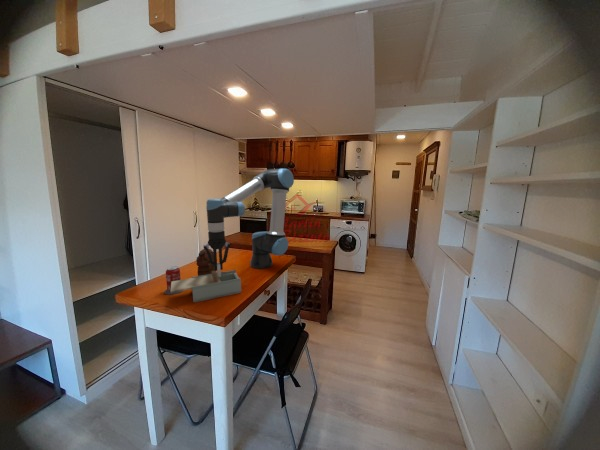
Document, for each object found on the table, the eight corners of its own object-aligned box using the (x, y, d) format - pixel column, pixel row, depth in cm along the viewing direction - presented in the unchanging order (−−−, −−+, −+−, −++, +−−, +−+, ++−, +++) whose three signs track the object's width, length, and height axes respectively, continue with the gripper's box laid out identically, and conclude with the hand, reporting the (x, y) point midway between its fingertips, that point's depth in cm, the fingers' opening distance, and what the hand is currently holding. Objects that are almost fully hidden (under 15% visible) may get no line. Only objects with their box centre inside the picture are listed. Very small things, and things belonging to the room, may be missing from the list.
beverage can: (171, 287, 117) (169, 265, 115) (183, 287, 118) (181, 265, 115) (165, 293, 111) (162, 270, 109) (178, 292, 111) (176, 269, 109)
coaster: (184, 285, 120) (184, 284, 120) (184, 292, 112) (184, 291, 112) (165, 288, 116) (164, 288, 116) (163, 296, 108) (163, 295, 108)
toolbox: (235, 282, 124) (235, 269, 123) (241, 292, 113) (240, 278, 112) (192, 291, 114) (191, 277, 113) (193, 302, 103) (192, 287, 101)
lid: (217, 275, 118) (217, 269, 118) (221, 283, 108) (220, 277, 108) (171, 283, 108) (170, 276, 108) (170, 292, 98) (169, 285, 98)
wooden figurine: (206, 283, 124) (204, 252, 121) (196, 282, 125) (194, 251, 122) (218, 275, 135) (217, 246, 132) (209, 274, 136) (207, 245, 133)
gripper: (228, 228, 115) (230, 271, 119) (201, 230, 109) (204, 275, 113) (231, 230, 109) (233, 276, 113) (202, 233, 103) (205, 281, 107)
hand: (219, 276), depth 113 cm, fingers closed
